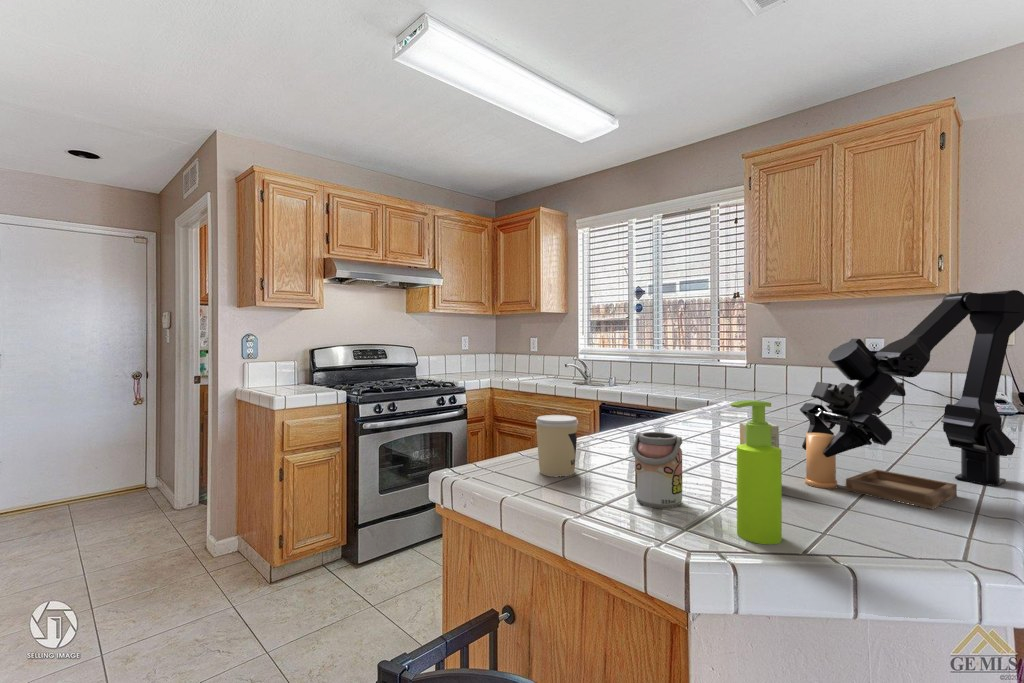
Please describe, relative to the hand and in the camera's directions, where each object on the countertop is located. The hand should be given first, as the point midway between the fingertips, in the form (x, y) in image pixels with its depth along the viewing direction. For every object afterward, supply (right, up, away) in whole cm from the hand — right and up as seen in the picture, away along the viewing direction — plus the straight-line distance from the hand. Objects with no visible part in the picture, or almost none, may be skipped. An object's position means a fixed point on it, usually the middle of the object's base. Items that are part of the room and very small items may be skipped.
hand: (814, 451), depth 97 cm
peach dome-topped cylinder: (+1, -7, 0) cm, 7 cm away
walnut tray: (+13, -7, -6) cm, 15 cm away
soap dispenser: (-25, -7, -26) cm, 36 cm away
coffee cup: (-51, -7, +10) cm, 52 cm away
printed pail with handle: (-35, -7, -11) cm, 37 cm away
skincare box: (-11, -7, 0) cm, 13 cm away
